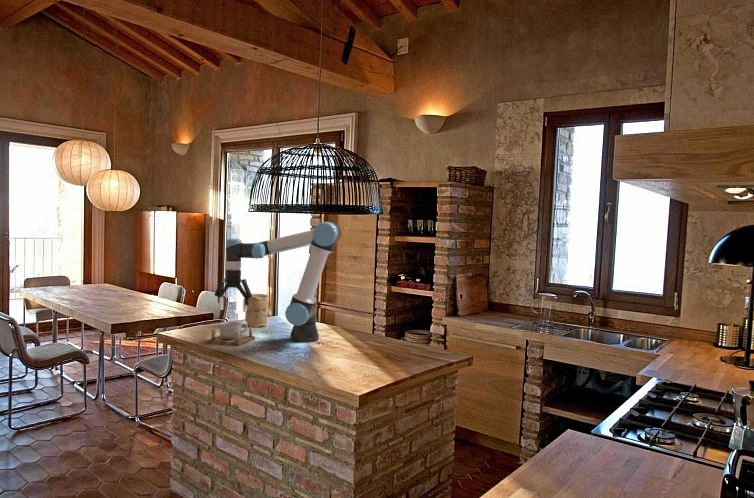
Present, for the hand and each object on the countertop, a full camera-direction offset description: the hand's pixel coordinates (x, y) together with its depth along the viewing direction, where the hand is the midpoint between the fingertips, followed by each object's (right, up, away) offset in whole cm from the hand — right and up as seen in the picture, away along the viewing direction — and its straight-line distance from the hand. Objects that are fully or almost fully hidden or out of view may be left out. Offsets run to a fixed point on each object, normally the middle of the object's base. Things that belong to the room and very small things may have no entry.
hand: (233, 310), depth 282 cm
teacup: (0, -14, +1) cm, 15 cm away
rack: (-1, -16, +1) cm, 16 cm away
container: (+2, -14, +43) cm, 45 cm away
